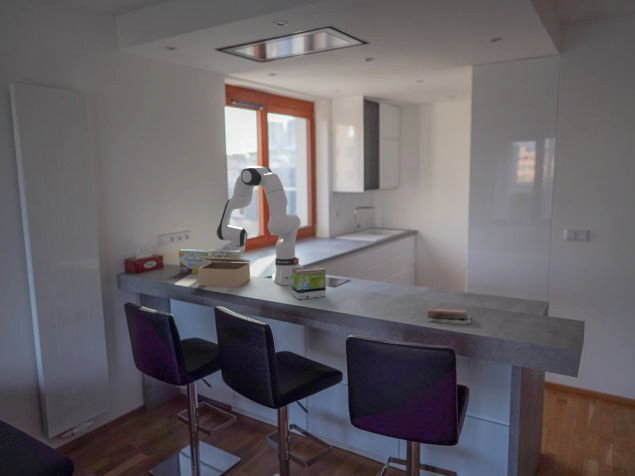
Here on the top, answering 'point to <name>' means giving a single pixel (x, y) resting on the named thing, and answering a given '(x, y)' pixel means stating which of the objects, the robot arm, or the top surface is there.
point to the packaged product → (448, 315)
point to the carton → (224, 274)
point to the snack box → (192, 260)
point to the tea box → (308, 282)
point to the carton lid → (224, 259)
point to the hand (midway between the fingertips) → (219, 255)
